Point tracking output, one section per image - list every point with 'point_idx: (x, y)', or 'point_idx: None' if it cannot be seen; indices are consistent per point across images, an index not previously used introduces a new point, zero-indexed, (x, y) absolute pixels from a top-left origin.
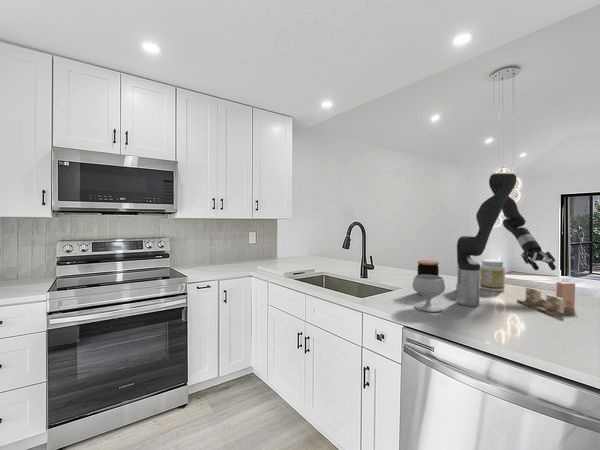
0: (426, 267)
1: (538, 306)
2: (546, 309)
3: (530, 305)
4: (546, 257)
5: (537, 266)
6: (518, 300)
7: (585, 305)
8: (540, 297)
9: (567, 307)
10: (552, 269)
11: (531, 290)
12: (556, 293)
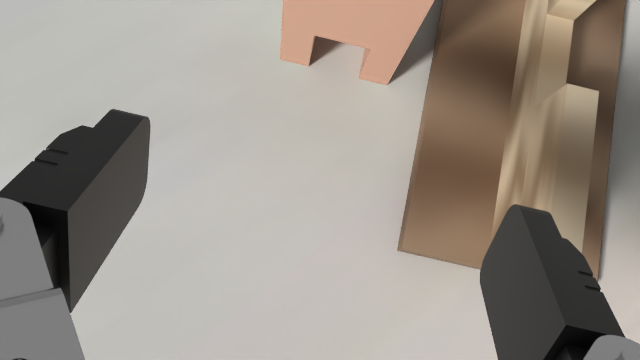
0: None
1: (586, 79)
2: (591, 9)
3: (609, 131)
4: (52, 323)
5: (542, 229)
6: (597, 272)
7: (72, 55)
8: (537, 105)
9: (313, 44)
10: (143, 179)
11: (583, 180)
12: (418, 27)
